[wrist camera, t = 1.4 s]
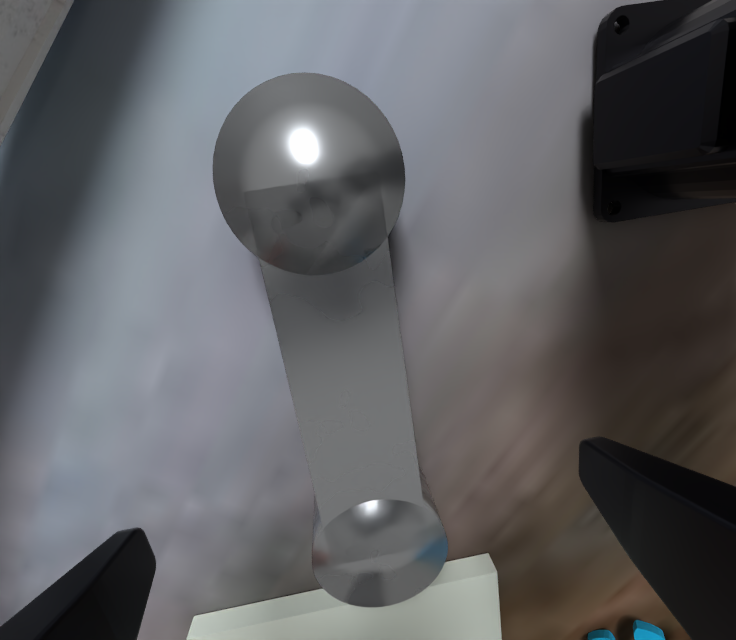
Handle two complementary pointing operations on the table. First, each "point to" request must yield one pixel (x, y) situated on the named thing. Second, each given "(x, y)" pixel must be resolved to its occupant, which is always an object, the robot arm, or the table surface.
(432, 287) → the table surface
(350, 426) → the ball-ended metal rod
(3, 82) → the wrench
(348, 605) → the peg board
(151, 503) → the table surface
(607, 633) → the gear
